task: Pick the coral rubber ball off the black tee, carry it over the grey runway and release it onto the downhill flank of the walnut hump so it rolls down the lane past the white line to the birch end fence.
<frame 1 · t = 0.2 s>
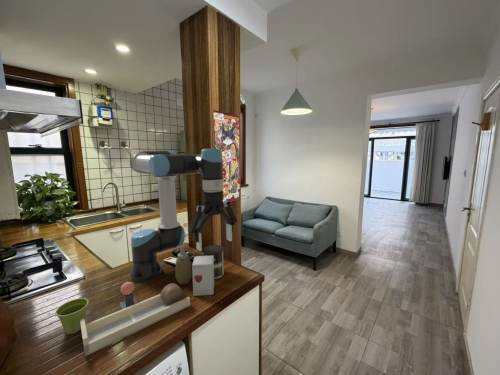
hand: (214, 244, 86), 28 cm above the counter, fingers open, 13 cm apart
plant pot: (75, 328, 81), on the counter
squeeze bottle: (184, 281, 111), on the counter
ball: (127, 288, 93), point 7 cm above the counter, touching tee
runway: (140, 319, 85), on the counter
tee: (129, 304, 94), on the counter
coffee can: (214, 274, 117), on the counter
hump: (173, 304, 93), resting on runway
supplement box: (204, 290, 104), on the counter
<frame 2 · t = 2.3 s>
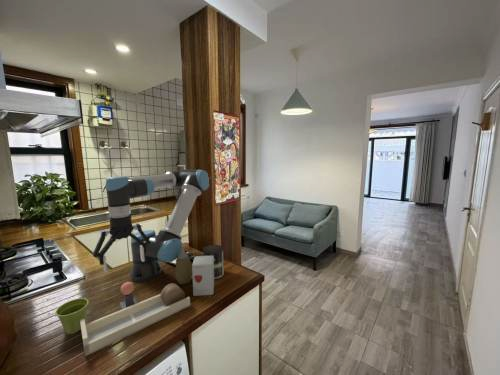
hand: (125, 266, 91), 17 cm above the counter, fingers open, 13 cm apart
nothing on the counter moved.
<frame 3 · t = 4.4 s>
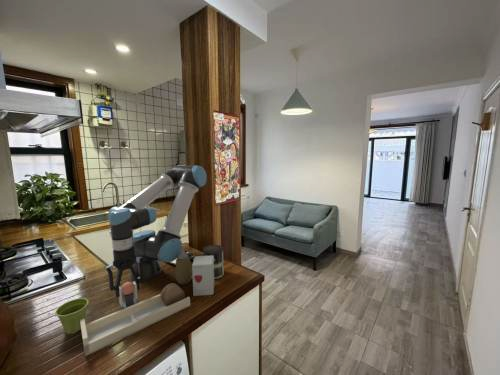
hand: (128, 299, 93), 2 cm above the counter, fingers closed on ball, 5 cm apart
ball: (127, 288, 93), point 7 cm above the counter, touching gripper, tee
everything else where it was.
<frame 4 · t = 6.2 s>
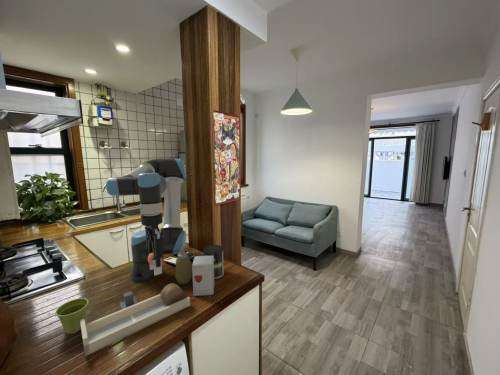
hand: (155, 271, 87), 17 cm above the counter, fingers closed on ball, 5 cm apart
ball: (154, 258, 87), point 22 cm above the counter, touching gripper
everything else where it was.
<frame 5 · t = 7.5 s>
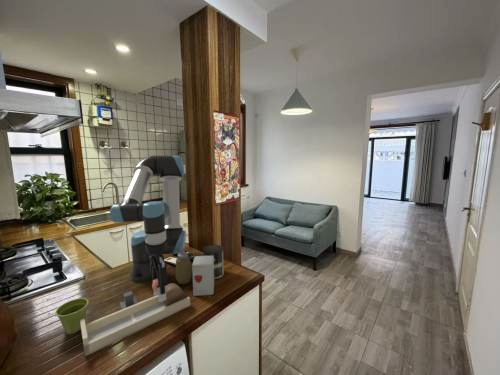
hand: (160, 297, 89), 6 cm above the counter, fingers closed on ball, 5 cm apart
ball: (158, 284, 88), point 11 cm above the counter, touching gripper
everything else where it was.
when the fingers open (5 cm above the counter, at t = 8.2 s): ball drops 8 cm and tips over, resting on runway.
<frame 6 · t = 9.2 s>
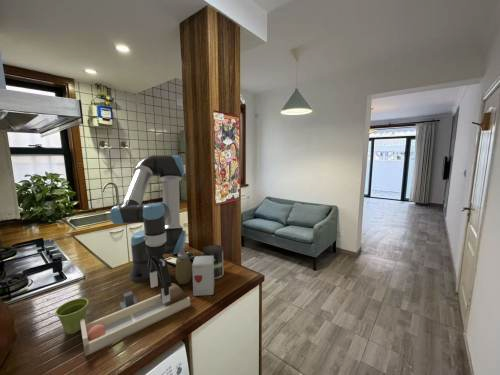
hand: (160, 293, 89), 7 cm above the counter, fingers open, 13 cm apart
ball: (96, 333, 75), point 3 cm above the counter, tilted 157°, touching runway
everything else where it was.
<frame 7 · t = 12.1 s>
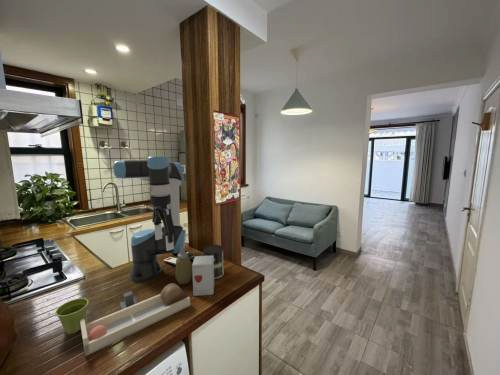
hand: (164, 244, 93), 25 cm above the counter, fingers open, 13 cm apart
ball: (98, 334, 74), point 3 cm above the counter, tilted 146°, touching runway
everything else where it was.
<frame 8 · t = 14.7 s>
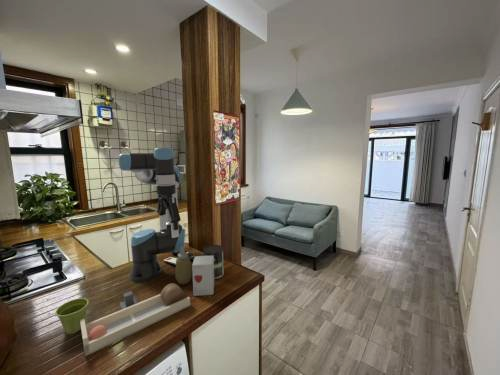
hand: (169, 233, 97), 29 cm above the counter, fingers open, 13 cm apart
nothing on the counter moved.
at the end: ball inside the target area (4.4 cm from its centre), point 3.1 cm above the counter; the gripper is holding nothing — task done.
